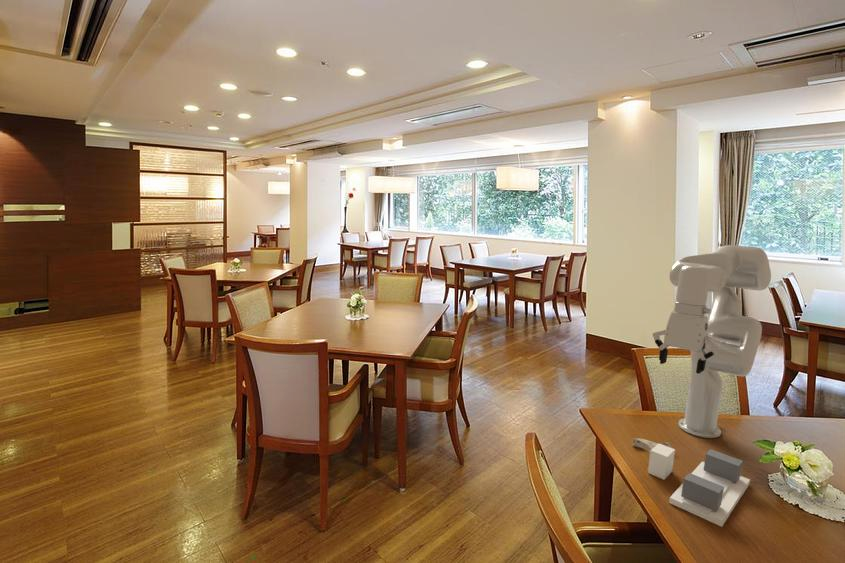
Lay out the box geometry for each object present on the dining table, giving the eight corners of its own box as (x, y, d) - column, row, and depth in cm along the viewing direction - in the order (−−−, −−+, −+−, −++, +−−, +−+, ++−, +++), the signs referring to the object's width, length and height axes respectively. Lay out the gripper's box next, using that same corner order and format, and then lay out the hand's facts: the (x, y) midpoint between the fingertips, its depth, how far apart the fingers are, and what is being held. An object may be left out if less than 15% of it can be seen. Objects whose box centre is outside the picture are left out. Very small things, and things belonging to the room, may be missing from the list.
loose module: (655, 465, 140) (658, 443, 139) (672, 471, 137) (675, 449, 136) (647, 472, 136) (650, 450, 135) (664, 479, 133) (667, 456, 132)
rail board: (701, 466, 141) (704, 444, 140) (749, 484, 132) (753, 461, 131) (669, 502, 123) (672, 478, 122) (721, 526, 115) (726, 500, 113)
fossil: (665, 460, 144) (667, 450, 143) (629, 446, 151) (630, 436, 150) (672, 452, 149) (674, 442, 148) (636, 439, 156) (638, 429, 155)
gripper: (728, 314, 131) (718, 374, 134) (662, 302, 143) (654, 357, 146) (720, 317, 126) (710, 379, 129) (652, 304, 138) (644, 361, 141)
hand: (680, 367), depth 137 cm, fingers open, 9 cm apart
